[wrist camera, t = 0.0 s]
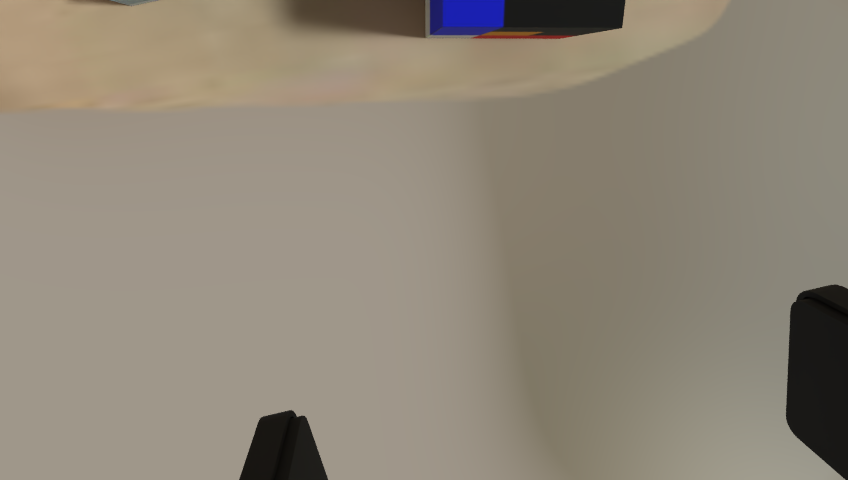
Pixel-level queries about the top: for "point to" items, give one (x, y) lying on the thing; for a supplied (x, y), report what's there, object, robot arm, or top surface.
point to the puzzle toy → (521, 18)
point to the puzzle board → (133, 2)
